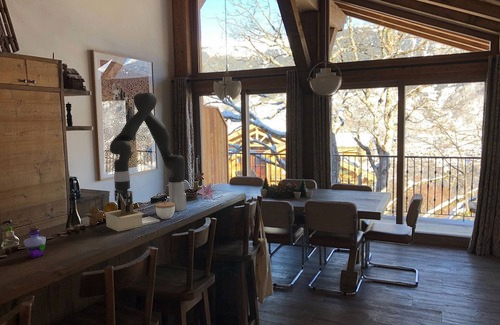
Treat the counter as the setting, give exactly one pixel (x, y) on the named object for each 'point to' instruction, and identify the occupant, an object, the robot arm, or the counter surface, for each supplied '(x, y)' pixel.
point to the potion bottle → (35, 243)
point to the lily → (206, 191)
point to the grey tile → (149, 220)
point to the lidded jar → (165, 209)
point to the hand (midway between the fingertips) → (123, 211)
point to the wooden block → (124, 207)
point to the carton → (123, 220)
